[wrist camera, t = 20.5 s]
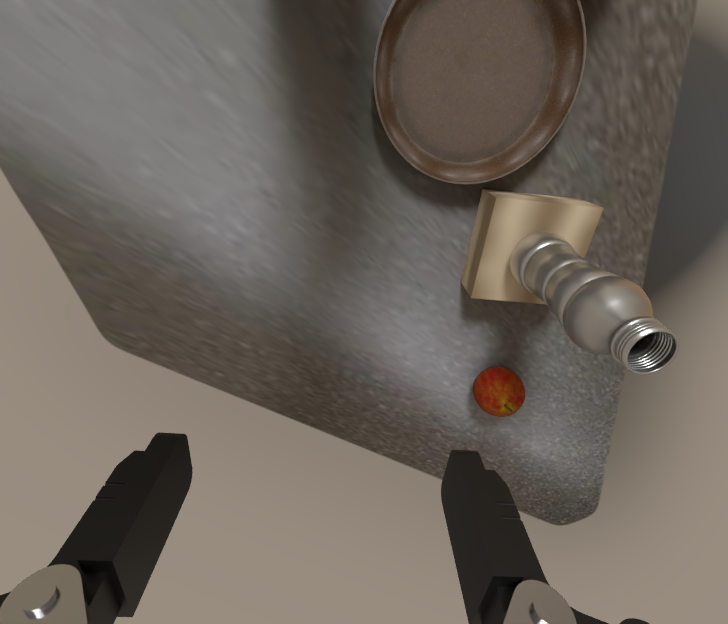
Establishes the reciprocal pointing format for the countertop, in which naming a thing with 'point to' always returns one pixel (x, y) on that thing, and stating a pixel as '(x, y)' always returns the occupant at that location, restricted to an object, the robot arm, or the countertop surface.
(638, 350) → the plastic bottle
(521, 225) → the block
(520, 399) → the fruit
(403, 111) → the plant saucer
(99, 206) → the countertop surface
